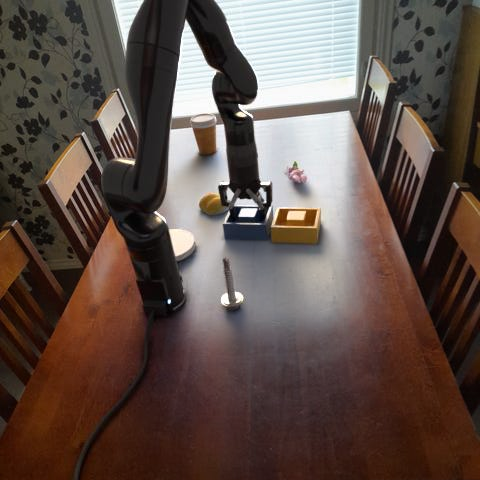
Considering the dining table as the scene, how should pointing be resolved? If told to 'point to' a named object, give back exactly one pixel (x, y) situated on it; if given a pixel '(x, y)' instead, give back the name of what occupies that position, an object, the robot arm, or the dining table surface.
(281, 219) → the ochre bin
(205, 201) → the bread roll
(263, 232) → the blue bin
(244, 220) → the blue block
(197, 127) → the disposable coffee cup
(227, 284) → the screw
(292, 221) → the ochre block
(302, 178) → the pink flower bud
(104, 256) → the dining table surface
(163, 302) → the robot arm
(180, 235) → the plastic lid
